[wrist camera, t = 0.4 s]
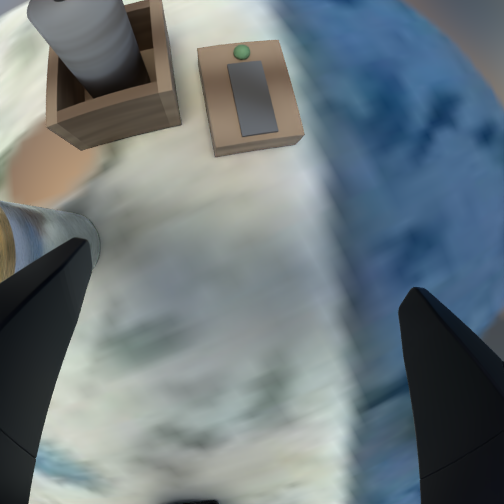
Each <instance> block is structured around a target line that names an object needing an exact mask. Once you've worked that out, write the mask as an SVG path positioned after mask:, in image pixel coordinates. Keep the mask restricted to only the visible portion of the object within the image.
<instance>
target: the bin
mask: <svg viewBox="0 0 504 504" xmlns="http://www.w3.org/2000/svg"><path fill="white" fill-rule="evenodd" d="M27 16H28V19H29V20H30V22H31V23H32V24H33V25H34V27H35V28H36V29H37V30H38V32H39V33H40V34H41V35H42V37H43V38H44V39H45V40H46V42H47V43H48V44H49V45H50V47H49V58H48V70H47V88H46V128H48V129H49V130H51V131H52V132H54V133H55V134H57V135H58V136H60V137H61V138H63V139H64V140H66V141H67V142H69V143H70V144H72V145H73V146H75V147H76V148H78V149H79V150H81V151H82V150H85V149H88V148H92V147H95V146H98V145H102V144H105V143H109V142H112V141H116V140H119V139H123V138H127V137H130V136H134V135H138V134H142V133H146V132H151V131H155V130H159V129H164V128H168V127H173V126H177V125H181V119H180V113H179V106H178V100H177V93H176V87H175V80H174V73H173V65H172V58H171V51H170V43H169V37H168V32H167V26H166V21H165V15H164V10H163V4H162V0H144V1H140V2H136V3H132V4H128V5H124V4H123V1H122V0H30V2H29V5H28V8H27Z"/></svg>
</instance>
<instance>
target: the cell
mask: <svg viewBox="0 0 504 504" xmlns="http://www.w3.org/2000/svg"><path fill="white" fill-rule="evenodd" d="M73 237H78V238H84V239H87V240H88V241H89V243H90V250H91V257H92V269H93V268H94V266H95V265H96V263H97V260H98V257H99V253H100V241H99V236H98V233H97V231H96V229H95V227H94V225H93V224H92V223H91V222H90V220H88V219H87V218H86V217H84V216H83V215H80V214H77V213H71V212H65V211H59V210H53V209H47V208H42V207H36V206H30V205H24V204H17V203H11V202H5V201H0V283H1V282H3V281H4V280H5V279H7V278H8V277H10V276H12V275H13V274H15V273H16V272H18V271H19V270H21V269H22V268H24V267H25V266H27V265H29V264H30V263H32V262H33V261H35V260H36V259H38V258H40V257H41V256H43V255H45V254H46V253H48V252H49V251H51V250H53V249H54V248H56V247H58V246H59V245H61V244H63V243H64V242H66V241H68V240H70V239H71V238H73Z"/></svg>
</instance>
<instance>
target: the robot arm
mask: <svg viewBox="0 0 504 504" xmlns="http://www.w3.org/2000/svg"><path fill="white" fill-rule="evenodd" d="M91 273H92V257H91V250H90V243H89V241H88V240H87V239H84V238H78V237H73V238H71V239H70V240H68V241H66V242H64V243H63V244H61V245H59V246H58V247H56V248H54V249H53V250H51V251H49V252H48V253H46V254H45V255H43V256H41V257H40V258H38V259H36V260H35V261H33V262H32V263H30V264H29V265H27V266H25V267H24V268H22V269H21V270H19V271H18V272H16V273H15V274H13V275H12V276H10V277H8V278H7V279H5V280H4V281H3V282H1V283H0V504H28V503H29V496H30V490H31V484H32V478H33V472H34V467H35V462H36V459H35V458H36V457H37V452H38V447H39V443H40V439H41V435H42V431H43V427H44V423H45V419H46V415H47V412H48V408H49V404H50V401H51V398H52V394H53V391H54V388H55V384H56V381H57V378H58V375H59V372H60V369H61V366H62V363H63V360H64V357H65V354H66V351H67V348H68V346H69V343H70V340H71V337H72V335H73V332H74V329H75V327H76V324H77V321H78V318H79V314H80V311H81V307H82V303H83V300H84V296H85V293H86V289H87V286H88V283H89V280H90V276H91ZM398 315H399V323H400V331H401V339H402V349H403V357H404V363H405V368H406V374H407V379H408V385H409V391H410V397H411V404H412V410H413V417H414V425H415V433H416V441H417V451H418V461H419V474H420V493H421V504H504V361H502V360H501V358H499V357H498V355H497V354H496V353H495V352H493V350H492V349H490V348H489V347H488V346H487V345H486V344H485V343H484V342H483V341H482V340H481V339H480V338H479V337H478V336H477V335H476V334H475V333H474V332H473V331H472V330H471V329H470V328H469V327H467V326H466V325H465V324H464V323H463V322H462V321H461V320H460V319H459V318H458V317H457V316H456V315H454V314H453V313H452V312H451V311H450V310H449V309H448V308H447V307H446V306H444V305H443V304H442V303H441V302H440V301H439V300H438V299H437V298H435V297H434V296H433V295H432V294H431V293H430V292H429V291H427V290H426V289H425V288H420V287H413V288H412V289H410V291H409V292H408V294H407V295H406V297H405V299H404V300H403V302H402V303H401V305H400V307H399V310H398ZM185 504H219V503H218V502H217V501H214V500H213V501H204V502H195V503H185Z"/></svg>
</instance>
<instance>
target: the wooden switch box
mask: <svg viewBox="0 0 504 504" xmlns="http://www.w3.org/2000/svg"><path fill="white" fill-rule="evenodd" d="M197 51H198V66H199V72H200V77H201V83H202V88H203V94H204V99H205V105H206V110H207V116H208V121H209V126H210V132H211V137H212V142H213V148H214V153H215V157H219V156H224V155H230V154H236V153H242V152H248V151H254V150H260V149H267V148H274V147H281V146H288V145H295V144H296V143H297V142H298V141H299V140H300V139H301V138H302V137H303V136H304V135H305V134H304V130H303V126H302V122H301V118H300V114H299V110H298V106H297V103H296V99H295V95H294V92H293V88H292V84H291V81H290V77H289V74H288V70H287V67H286V63H285V60H284V56H283V53H282V50H281V46H280V43H279V40H267V41H254V42H243V43H233V44H225V45H217V46H210V47H203V48H197Z"/></svg>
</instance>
